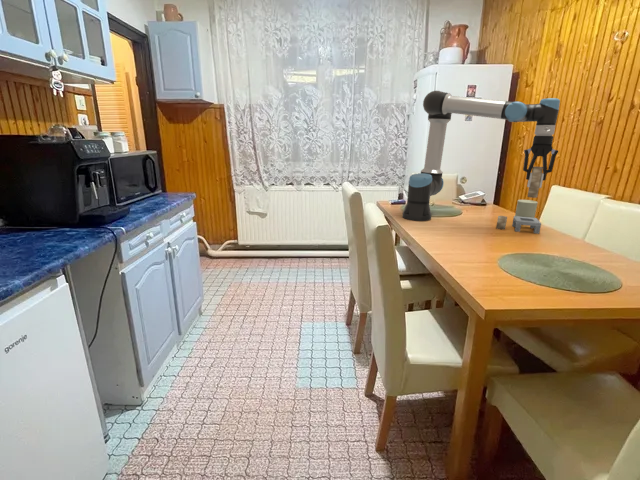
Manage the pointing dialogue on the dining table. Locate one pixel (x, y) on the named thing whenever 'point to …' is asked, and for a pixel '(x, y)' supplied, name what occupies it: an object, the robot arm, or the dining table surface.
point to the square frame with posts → (526, 223)
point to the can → (526, 208)
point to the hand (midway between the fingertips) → (534, 187)
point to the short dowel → (501, 222)
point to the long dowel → (535, 182)
